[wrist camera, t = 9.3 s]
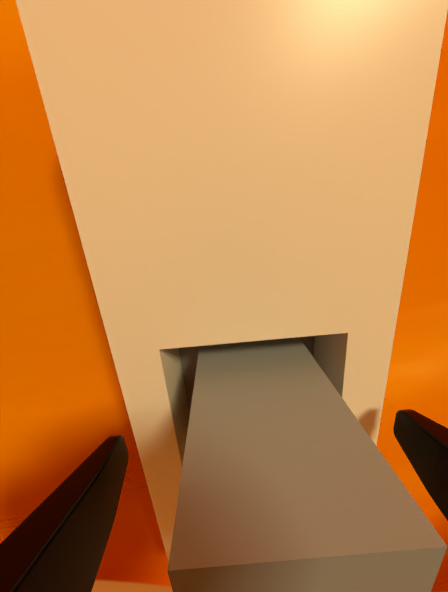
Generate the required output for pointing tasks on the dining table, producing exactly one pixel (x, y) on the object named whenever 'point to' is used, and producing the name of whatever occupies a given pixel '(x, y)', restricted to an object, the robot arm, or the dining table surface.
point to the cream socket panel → (238, 185)
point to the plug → (289, 485)
